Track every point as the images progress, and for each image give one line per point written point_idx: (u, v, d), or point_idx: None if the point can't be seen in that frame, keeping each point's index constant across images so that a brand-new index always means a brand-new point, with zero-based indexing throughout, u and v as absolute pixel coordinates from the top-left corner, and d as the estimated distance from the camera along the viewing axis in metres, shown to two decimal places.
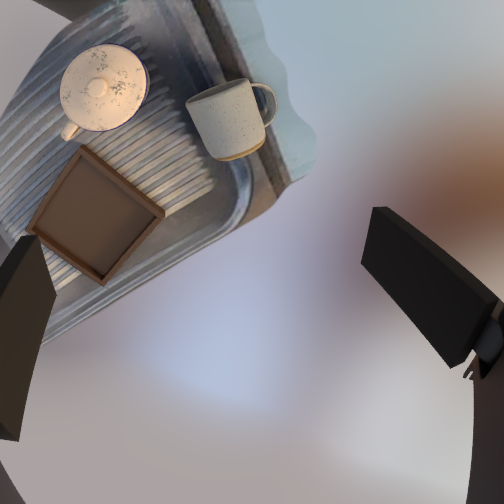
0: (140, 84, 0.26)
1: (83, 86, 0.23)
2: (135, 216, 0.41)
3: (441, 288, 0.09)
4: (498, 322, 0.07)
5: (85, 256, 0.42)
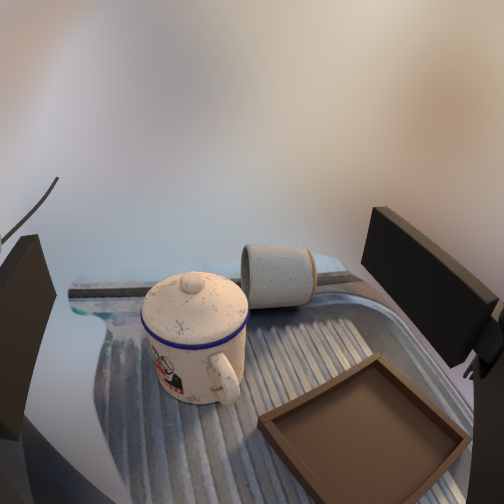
0: (212, 274, 0.29)
1: (181, 297, 0.24)
2: (375, 388, 0.28)
3: (441, 288, 0.09)
4: (498, 322, 0.07)
5: (427, 463, 0.20)
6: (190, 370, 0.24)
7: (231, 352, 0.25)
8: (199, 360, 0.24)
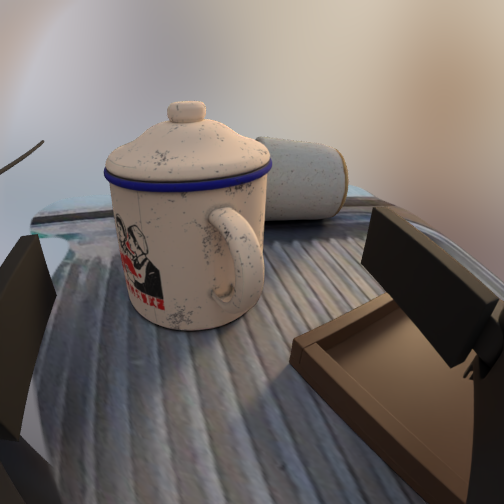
0: None
1: (167, 126, 0.15)
2: None
3: (441, 288, 0.09)
4: (498, 322, 0.07)
5: None
6: (175, 249, 0.15)
7: (245, 217, 0.15)
8: (191, 221, 0.14)
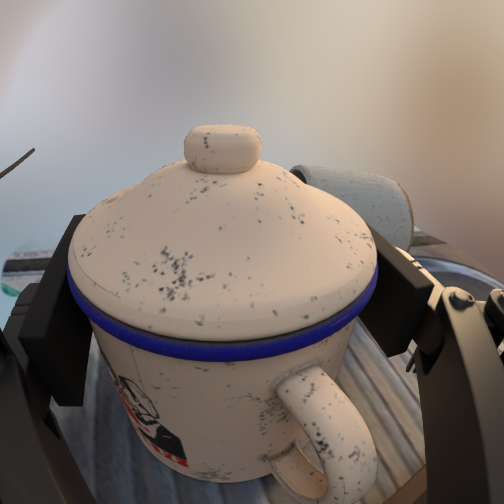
0: None
1: (185, 183, 0.07)
2: None
3: None
4: (436, 313, 0.08)
5: None
6: (209, 422, 0.07)
7: (333, 363, 0.08)
8: (242, 396, 0.07)
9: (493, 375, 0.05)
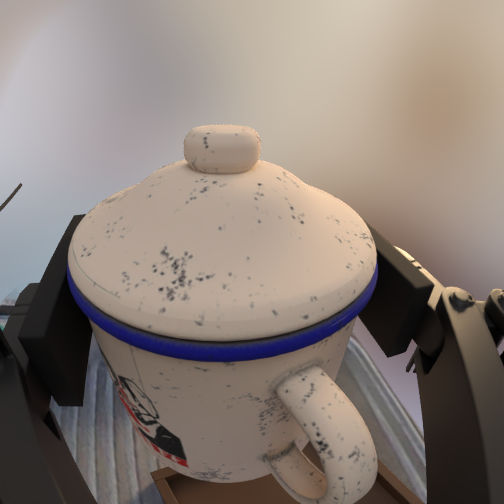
0: None
1: (185, 182, 0.07)
2: (311, 444, 0.22)
3: None
4: (436, 313, 0.08)
5: None
6: (209, 422, 0.07)
7: (333, 363, 0.08)
8: (242, 396, 0.07)
9: (493, 375, 0.05)
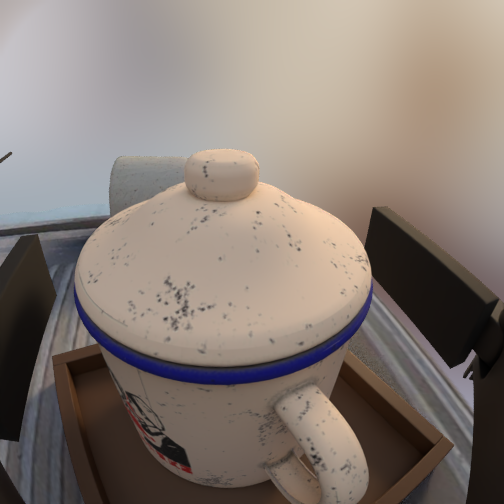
0: None
1: (186, 211, 0.08)
2: None
3: (441, 288, 0.09)
4: (498, 322, 0.07)
5: None
6: (211, 434, 0.08)
7: (329, 379, 0.08)
8: (242, 412, 0.07)
9: None
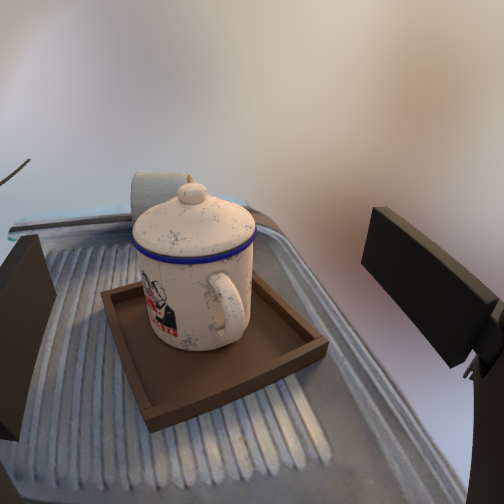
0: None
1: (178, 208, 0.21)
2: None
3: (441, 288, 0.09)
4: (498, 322, 0.07)
5: (263, 360, 0.24)
6: (185, 298, 0.21)
7: (235, 276, 0.22)
8: (196, 282, 0.20)
9: None
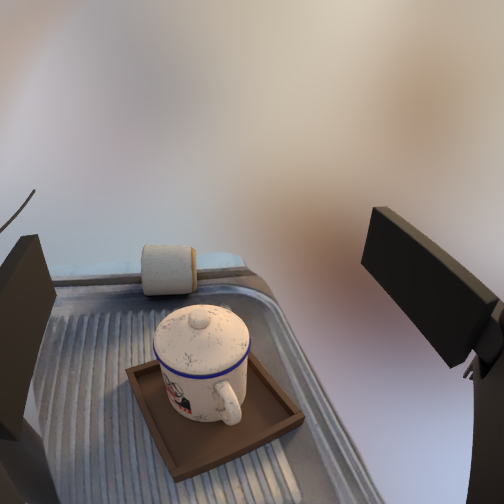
0: (217, 307, 0.32)
1: (189, 333, 0.27)
2: None
3: (441, 288, 0.09)
4: (498, 322, 0.07)
5: (255, 428, 0.29)
6: (198, 394, 0.27)
7: (234, 379, 0.28)
8: (206, 387, 0.26)
9: None
